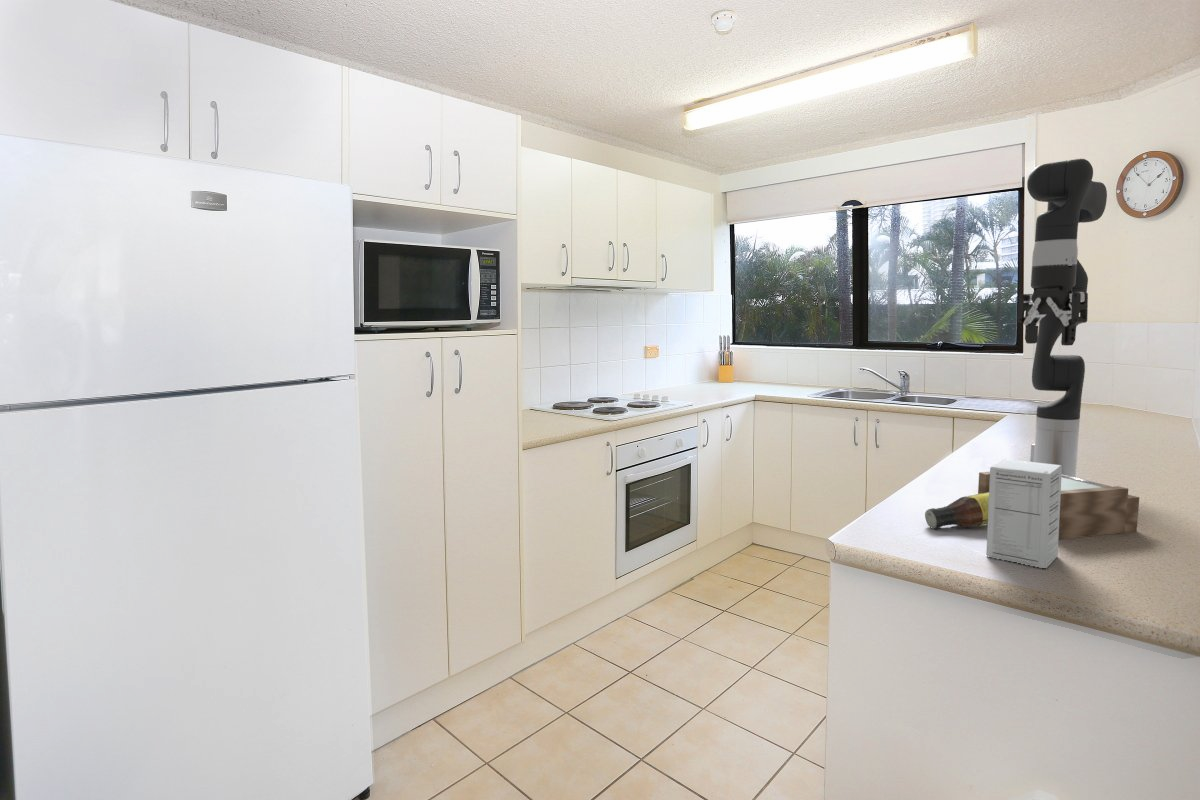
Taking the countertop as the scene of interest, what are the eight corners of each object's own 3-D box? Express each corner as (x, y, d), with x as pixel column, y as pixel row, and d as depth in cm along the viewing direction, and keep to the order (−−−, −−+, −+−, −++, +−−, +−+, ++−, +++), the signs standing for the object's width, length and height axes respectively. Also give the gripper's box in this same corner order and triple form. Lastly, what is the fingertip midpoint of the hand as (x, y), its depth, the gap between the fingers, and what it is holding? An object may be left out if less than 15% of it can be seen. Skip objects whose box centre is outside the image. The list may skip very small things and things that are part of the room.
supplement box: (1059, 556, 118) (1065, 464, 117) (1046, 570, 112) (1053, 473, 110) (999, 544, 125) (1003, 457, 123) (984, 557, 119) (989, 465, 117)
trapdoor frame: (1051, 505, 150) (1054, 467, 149) (1136, 531, 132) (1140, 487, 131) (977, 512, 146) (979, 472, 145) (1053, 539, 128) (1056, 494, 126)
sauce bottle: (1014, 480, 138) (925, 495, 136) (1035, 501, 133) (943, 516, 130) (1004, 503, 141) (918, 517, 139) (1024, 524, 136) (935, 539, 134)
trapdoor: (1055, 476, 146) (1053, 470, 146) (1116, 491, 133) (1114, 485, 133) (995, 511, 144) (993, 506, 144) (1051, 530, 131) (1049, 524, 130)
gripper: (1009, 266, 139) (1005, 343, 141) (1069, 261, 125) (1064, 346, 127) (1040, 266, 140) (1035, 342, 143) (1102, 261, 127) (1096, 345, 129)
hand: (1048, 344), depth 135 cm, fingers open, 8 cm apart
